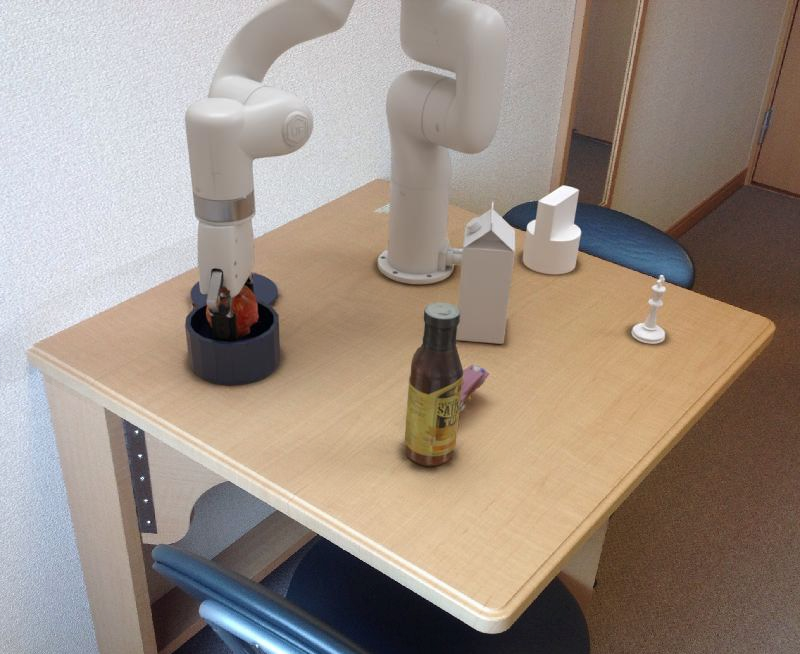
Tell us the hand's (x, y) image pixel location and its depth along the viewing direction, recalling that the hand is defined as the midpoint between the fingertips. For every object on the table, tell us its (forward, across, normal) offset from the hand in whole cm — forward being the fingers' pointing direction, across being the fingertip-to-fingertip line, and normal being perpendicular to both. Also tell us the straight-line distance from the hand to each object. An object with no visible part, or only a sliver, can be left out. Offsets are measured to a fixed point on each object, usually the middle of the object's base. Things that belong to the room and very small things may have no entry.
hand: (234, 323), depth 125 cm
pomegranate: (+2, 0, 0) cm, 2 cm away
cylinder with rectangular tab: (+7, -40, +43) cm, 59 cm away
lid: (+5, -17, -5) cm, 18 cm away
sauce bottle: (+6, +15, +29) cm, 33 cm away
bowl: (+6, 0, 0) cm, 6 cm away
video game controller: (+6, +5, +31) cm, 32 cm away
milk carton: (+6, -15, +33) cm, 36 cm away
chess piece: (+6, -19, +58) cm, 61 cm away
